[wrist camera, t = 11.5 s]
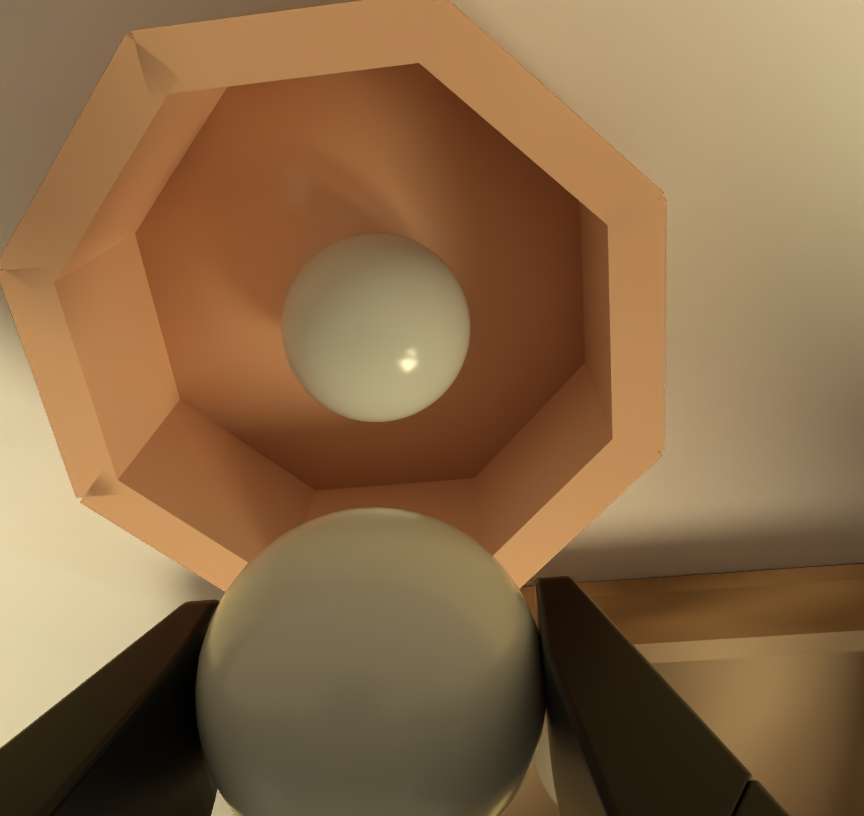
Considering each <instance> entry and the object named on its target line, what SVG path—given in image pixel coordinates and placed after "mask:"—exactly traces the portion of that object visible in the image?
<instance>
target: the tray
mask: <svg viewBox="0 0 864 816" xmlns="http://www.w3.org/2000/svg"><path fill="white" fill-rule="evenodd" d="M578 585H579V586H580V587H581V588H582V589H583V590H584V591H585V592H586V593H587V594H588V596H589V597H590V598H591V599H592V600H593V601H594V602H595V603H596V604H597V605H598V606H599V608H600V609H601V610H602V611H603V612H604V613H605V614H606V615H607V616H608V617H609V618H610V620H611V621H612V622H613V623H614V624H615V625H616V626H617V627H618V628H619V629H620V631H621V632H622V633H623V634H624V635H625V636H626V637H627V638H628V639H629V640H630V641H631V643H632V644H633V645H634V646H635V647H636V648H637V649H638V650H639V651H640V652H641V653H642V655H643V656H644V657H645V658H646V659H647V660H648V661H649V662H650V663H651V664H652V666H653V667H654V668H655V669H656V670H657V671H658V672H659V673H660V674H661V675H662V676H663V678H664V679H665V680H666V681H667V682H668V683H669V684H670V685H671V686H672V687H673V688H674V690H675V691H676V692H677V693H678V694H679V695H680V696H681V697H682V698H683V699H684V701H685V702H686V703H687V704H688V705H689V706H690V707H691V708H692V709H693V710H694V711H695V713H696V714H697V715H698V716H699V717H700V718H701V719H702V720H703V721H704V722H705V723H706V725H707V726H708V727H709V728H710V729H711V730H712V731H713V732H714V733H715V734H716V736H717V737H718V738H719V739H720V740H721V741H722V742H723V743H724V744H725V745H726V746H727V748H728V749H729V750H730V751H731V752H732V753H733V754H734V755H735V756H736V757H737V758H738V760H739V761H740V762H741V763H742V764H743V765H744V766H745V767H746V768H747V769H748V771H749V772H750V773H751V774H752V776H753V780H757V781H759V782H760V783H761V784H762V785H763V786H764V788H765V789H766V790H767V791H768V792H769V793H770V794H771V795H772V796H773V798H774V799H775V800H776V801H777V802H778V803H779V804H780V805H781V806H782V808H783V809H784V810H785V811H786V812H787V813H788V814H789V815H790V816H864V564H851V565H836V566H821V567H806V568H792V569H777V570H762V571H748V572H733V573H718V574H703V575H689V576H674V577H659V578H645V579H630V580H615V581H601V582H586V583H578ZM520 590H521V592H522V594H523V596H524V598H525V600H526V602H527V604H528V606H529V608H530V610H531V613H532V615H533V617H534V620H535V622H536V625H537V615H536V602H535V588H534V586H527V587H521V588H520ZM500 816H560V812H559V808H558V805H556V803H555V802H554V801H553V800H552V798H551V797H550V796H549V794H548V793H547V791H546V790H545V788H544V786H543V784H542V782H541V781H540V778H539V775H538V772H537V769H536V766H535V761H534V760H533V763H532V765H531V768H530V770H529V772H528V774H527V776H526V778H525V780H524V781H523V783H522V785H521V787H520V789H519V790H518V792H517V794H516V795H515V797H514V799H513V800H512V802H511V803H510V804H509V805H508V807H507V808H506V809H505V810H504V811H503V813H502V814H501V815H500Z"/></svg>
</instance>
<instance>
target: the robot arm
mask: <svg viewBox="0 0 864 816" xmlns="http://www.w3.org/2000/svg"><path fill="white" fill-rule="evenodd" d="M534 588H535V602H536V615H537V628H538V631H539V635H540V642H541V650H542V660H543V670H544V681H545V693H546V721H547V731H548V741H549V750H550V760H551V768H552V775H553V783H554V788H555V793H556V798H557V803H558V808H559V812H560V816H790V815H789V814H788V813H787V812H786V811H785V810H784V809H783V808H782V806H781V805H780V804H779V803H778V802H777V801H776V800H775V799H774V798H773V796H772V795H771V794H770V793H769V792H768V791H767V790H766V789H765V788H764V786H763V785H762V784H761V783H760V782H759V781H757V780H753V776H752V774H751V773H750V772H749V771H748V769H747V768H746V767H745V766H744V765H743V764H742V763H741V762H740V761H739V760H738V758H737V757H736V756H735V755H734V754H733V753H732V752H731V751H730V750H729V749H728V748H727V746H726V745H725V744H724V743H723V742H722V741H721V740H720V739H719V738H718V737H717V736H716V734H715V733H714V732H713V731H712V730H711V729H710V728H709V727H708V726H707V725H706V723H705V722H704V721H703V720H702V719H701V718H700V717H699V716H698V715H697V714H696V713H695V711H694V710H693V709H692V708H691V707H690V706H689V705H688V704H687V703H686V702H685V701H684V699H683V698H682V697H681V696H680V695H679V694H678V693H677V692H676V691H675V690H674V688H673V687H672V686H671V685H670V684H669V683H668V682H667V681H666V680H665V679H664V678H663V676H662V675H661V674H660V673H659V672H658V671H657V670H656V669H655V668H654V667H653V666H652V664H651V663H650V662H649V661H648V660H647V659H646V658H645V657H644V656H643V655H642V653H641V652H640V651H639V650H638V649H637V648H636V647H635V646H634V645H633V644H632V643H631V641H630V640H629V639H628V638H627V637H626V636H625V635H624V634H623V633H622V632H621V631H620V629H619V628H618V627H617V626H616V625H615V624H614V623H613V622H612V621H611V620H610V618H609V617H608V616H607V615H606V614H605V613H604V612H603V611H602V610H601V609H600V608H599V606H598V605H597V604H596V603H595V602H594V601H593V600H592V599H591V598H590V597H589V596H588V594H587V593H586V592H585V591H584V590H583V589H582V588H581V587H580V586H579V585H578V583H577V582H576V581H575V580H574V579H573V578H571V577H569V576H560V577H546V578H538V579H537V580H536V581H535V584H534ZM219 603H220V602H219V601H217V600H204V601H190V602H186V603H184V604H182V605H181V606H179V607H178V608H177V609H176V610H174V611H173V612H172V613H171V614H169V615H168V616H167V617H166V618H164V619H163V620H162V621H160V622H159V623H158V624H157V625H155V626H154V627H153V628H152V629H150V630H149V631H148V632H147V633H145V634H144V635H143V636H141V637H140V638H139V639H138V640H136V641H135V642H134V643H133V644H131V645H130V646H129V647H128V648H126V649H125V650H124V651H123V652H121V653H120V654H119V655H117V656H116V657H115V658H114V659H112V660H111V661H110V662H109V663H107V664H106V665H105V666H104V667H102V668H101V669H100V670H99V671H97V672H96V673H95V674H93V675H92V676H91V677H90V678H88V679H87V680H86V681H85V682H83V683H82V684H81V685H80V686H78V687H77V688H76V689H75V690H73V691H72V692H71V693H69V694H68V695H67V696H66V697H64V698H63V699H62V700H61V701H59V702H58V703H57V704H56V705H54V706H53V707H52V708H50V709H49V710H48V711H47V712H45V713H44V714H43V715H42V716H40V717H39V718H38V719H37V720H35V721H34V722H33V723H32V724H30V725H29V726H28V727H26V728H25V729H24V730H23V731H21V732H20V733H19V734H18V735H16V736H15V737H14V738H13V739H11V740H10V741H9V742H7V743H6V744H5V745H4V746H2V747H1V748H0V816H211V813H212V809H213V806H214V802H215V798H216V793H217V786H216V784H215V781H214V779H213V777H212V775H211V773H210V770H209V768H208V765H207V763H206V760H205V758H204V754H203V750H202V745H201V741H200V737H199V732H198V728H197V721H196V703H195V685H196V677H197V669H198V662H199V655H200V652H201V648H202V645H203V642H204V638H205V635H206V632H207V629H208V626H209V623H210V621H211V619H212V617H213V615H214V613H215V611H216V609H217V607H218V605H219Z"/></svg>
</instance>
